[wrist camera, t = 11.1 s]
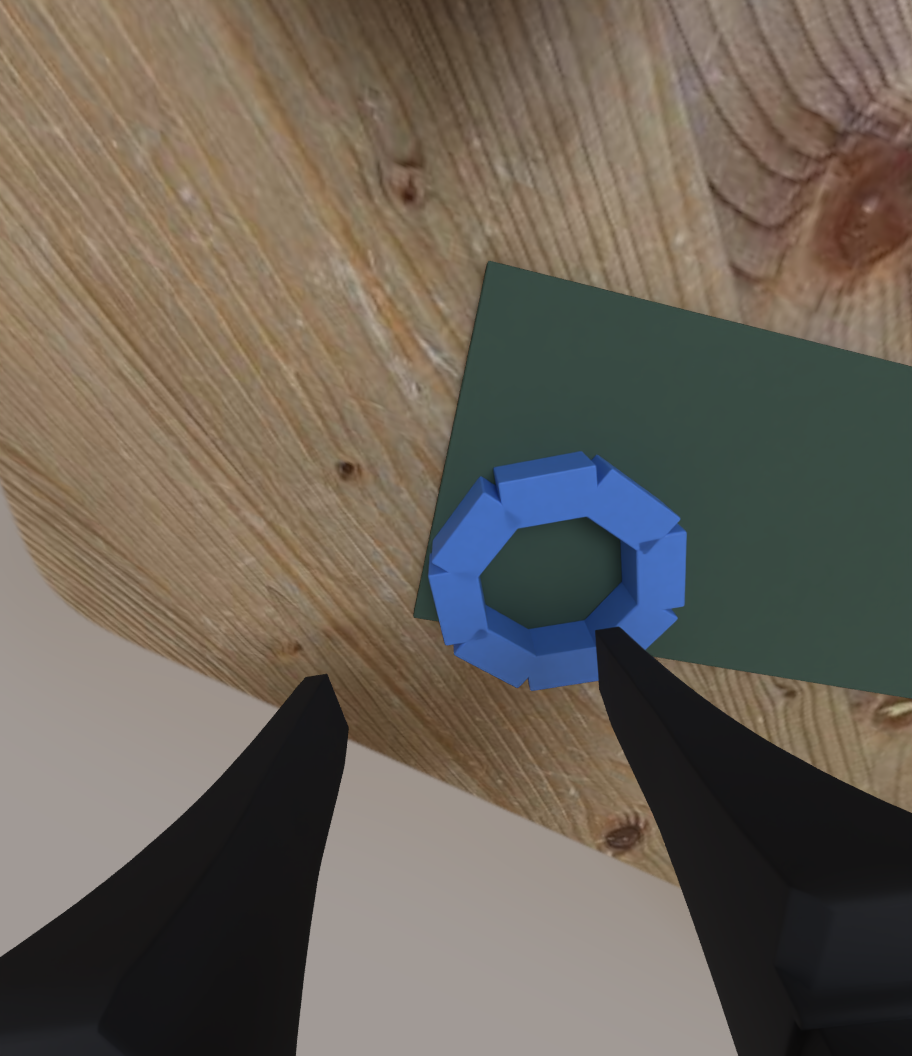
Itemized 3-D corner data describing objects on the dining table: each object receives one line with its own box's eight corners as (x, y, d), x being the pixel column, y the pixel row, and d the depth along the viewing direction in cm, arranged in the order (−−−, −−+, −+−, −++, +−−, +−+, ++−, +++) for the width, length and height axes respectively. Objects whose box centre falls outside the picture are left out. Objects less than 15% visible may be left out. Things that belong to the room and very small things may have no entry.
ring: (458, 672, 18) (459, 702, 17) (412, 481, 15) (408, 499, 14) (664, 639, 18) (683, 668, 16) (666, 434, 14) (690, 447, 13)
